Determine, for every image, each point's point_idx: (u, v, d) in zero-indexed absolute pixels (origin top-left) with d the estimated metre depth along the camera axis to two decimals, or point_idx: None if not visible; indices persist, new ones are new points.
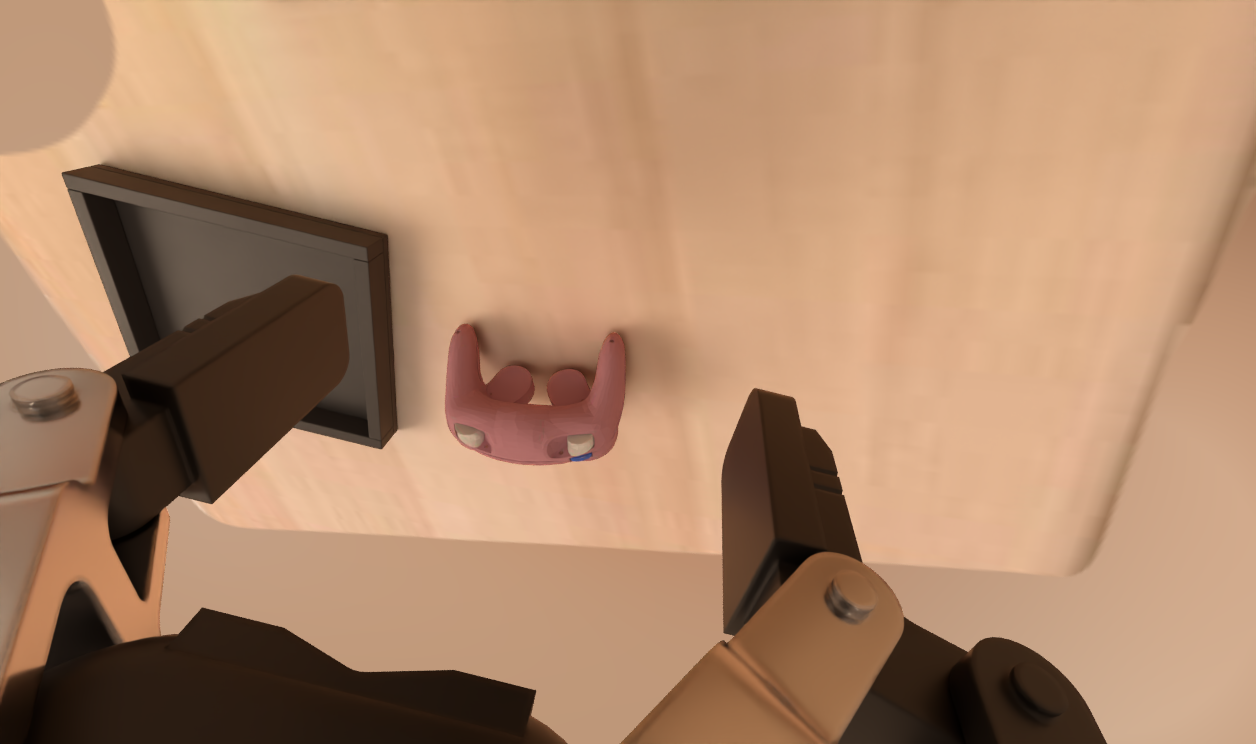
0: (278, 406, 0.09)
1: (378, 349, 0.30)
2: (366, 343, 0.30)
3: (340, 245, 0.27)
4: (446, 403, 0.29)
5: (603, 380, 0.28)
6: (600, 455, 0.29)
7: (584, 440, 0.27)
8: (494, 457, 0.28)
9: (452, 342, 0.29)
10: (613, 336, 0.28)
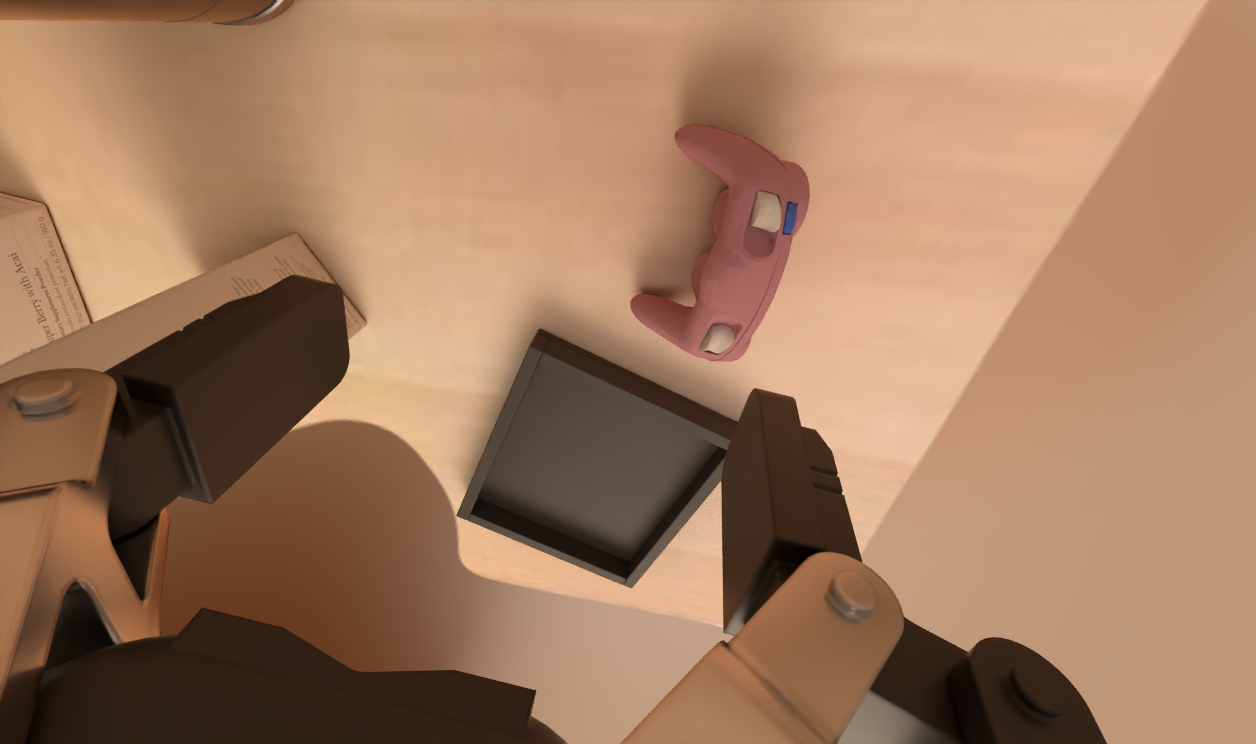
0: (279, 405, 0.09)
1: (633, 390, 0.30)
2: (621, 396, 0.30)
3: (525, 366, 0.30)
4: (682, 349, 0.26)
5: (708, 158, 0.22)
6: (804, 193, 0.21)
7: (757, 203, 0.20)
8: (752, 325, 0.23)
9: (636, 316, 0.27)
10: None
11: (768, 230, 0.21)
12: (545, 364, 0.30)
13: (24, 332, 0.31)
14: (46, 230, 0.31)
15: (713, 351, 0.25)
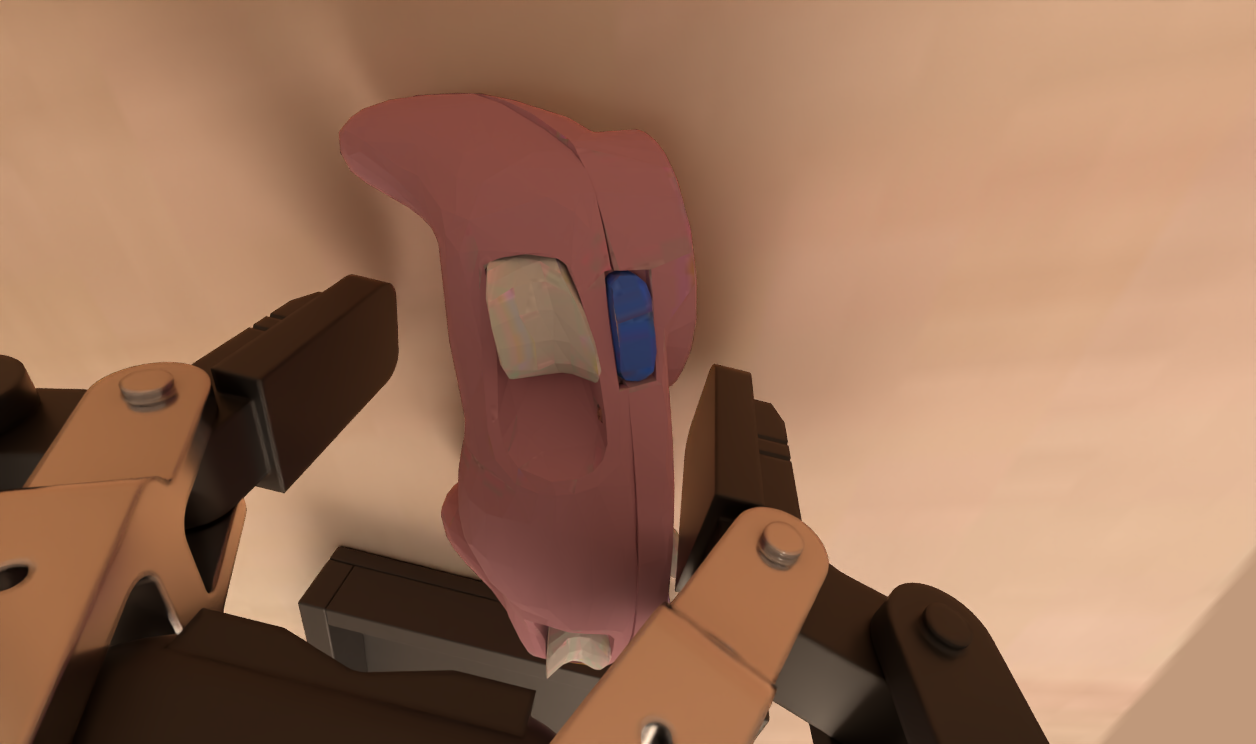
0: (340, 400, 0.09)
1: (517, 643, 0.15)
2: (495, 660, 0.15)
3: (310, 631, 0.16)
4: None
5: (383, 182, 0.07)
6: (669, 227, 0.06)
7: (490, 309, 0.05)
8: (642, 624, 0.08)
9: None
10: None
11: (581, 377, 0.06)
12: (340, 626, 0.15)
13: None
14: None
15: None
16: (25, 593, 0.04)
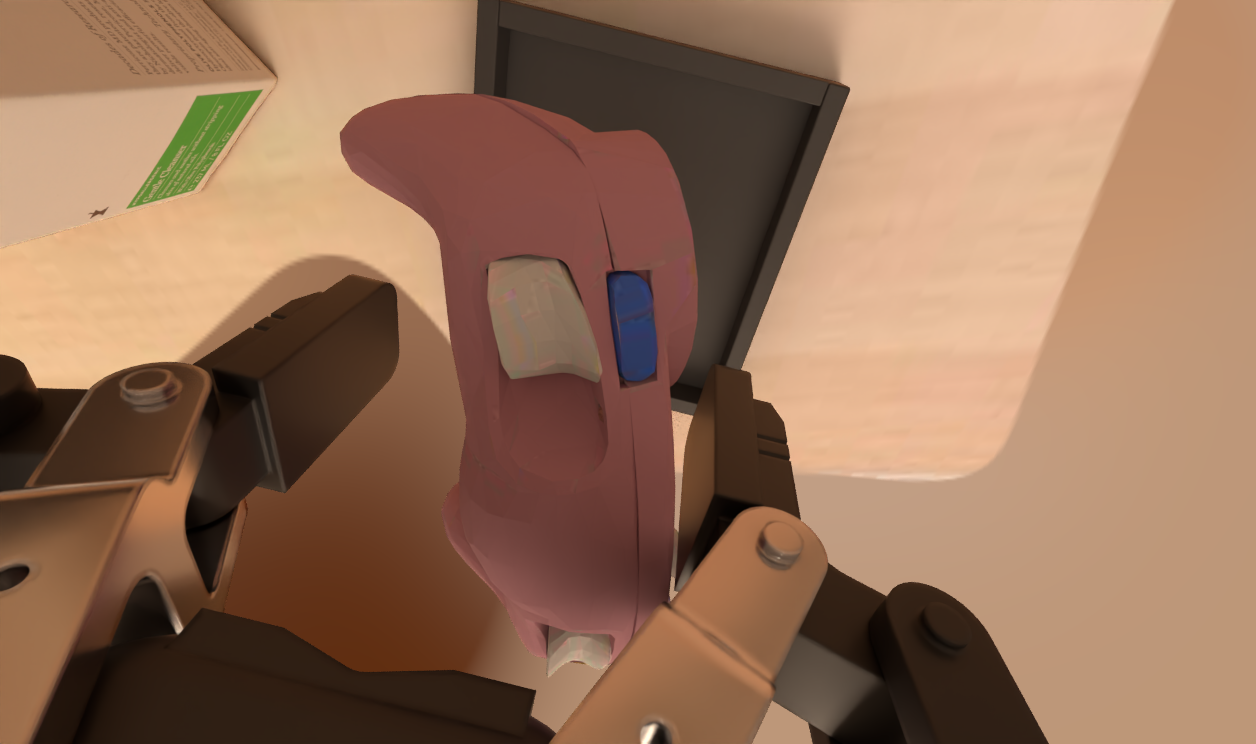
0: (340, 400, 0.09)
1: (649, 36, 0.19)
2: (632, 47, 0.19)
3: (481, 40, 0.20)
4: None
5: (385, 183, 0.07)
6: (671, 228, 0.06)
7: (492, 310, 0.05)
8: None
9: None
10: None
11: (582, 377, 0.06)
12: (508, 24, 0.19)
13: None
14: None
15: None
16: (26, 593, 0.04)
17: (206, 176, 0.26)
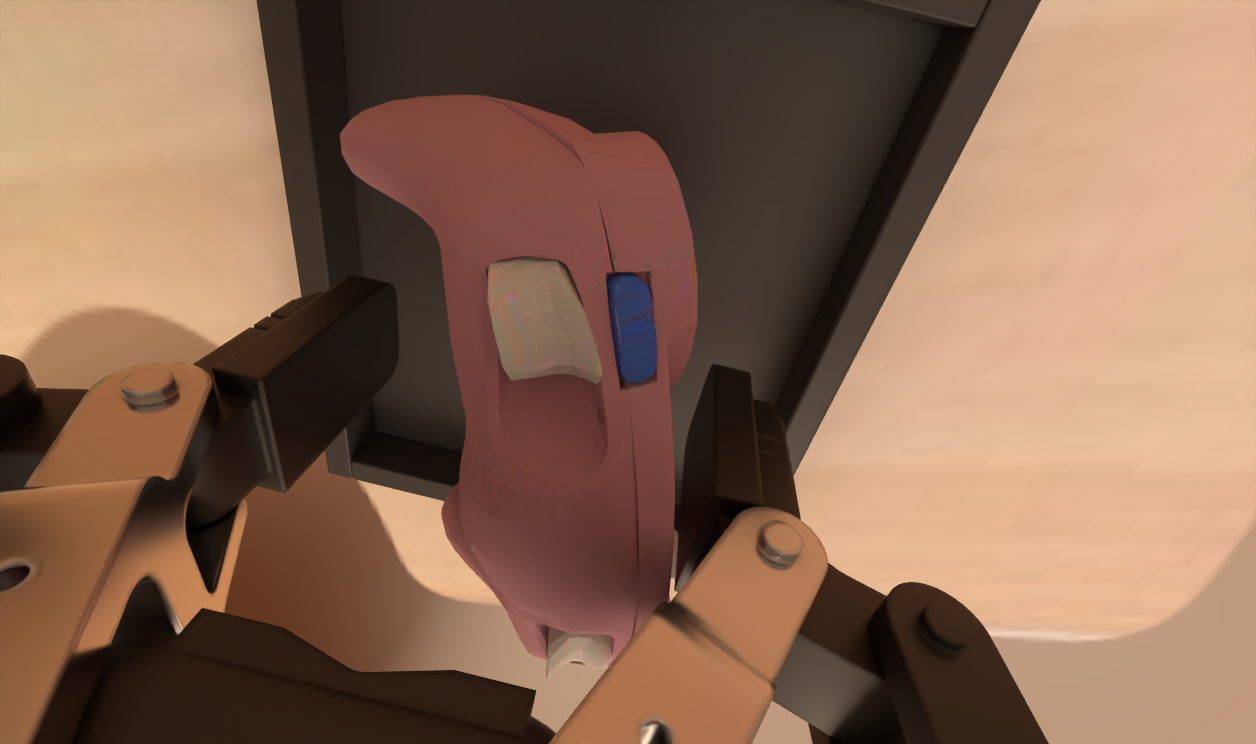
0: (341, 400, 0.09)
1: None
2: None
3: None
4: None
5: (385, 184, 0.07)
6: (670, 229, 0.06)
7: (492, 310, 0.05)
8: None
9: None
10: None
11: (582, 378, 0.06)
12: None
13: None
14: None
15: None
16: (26, 593, 0.04)
17: None
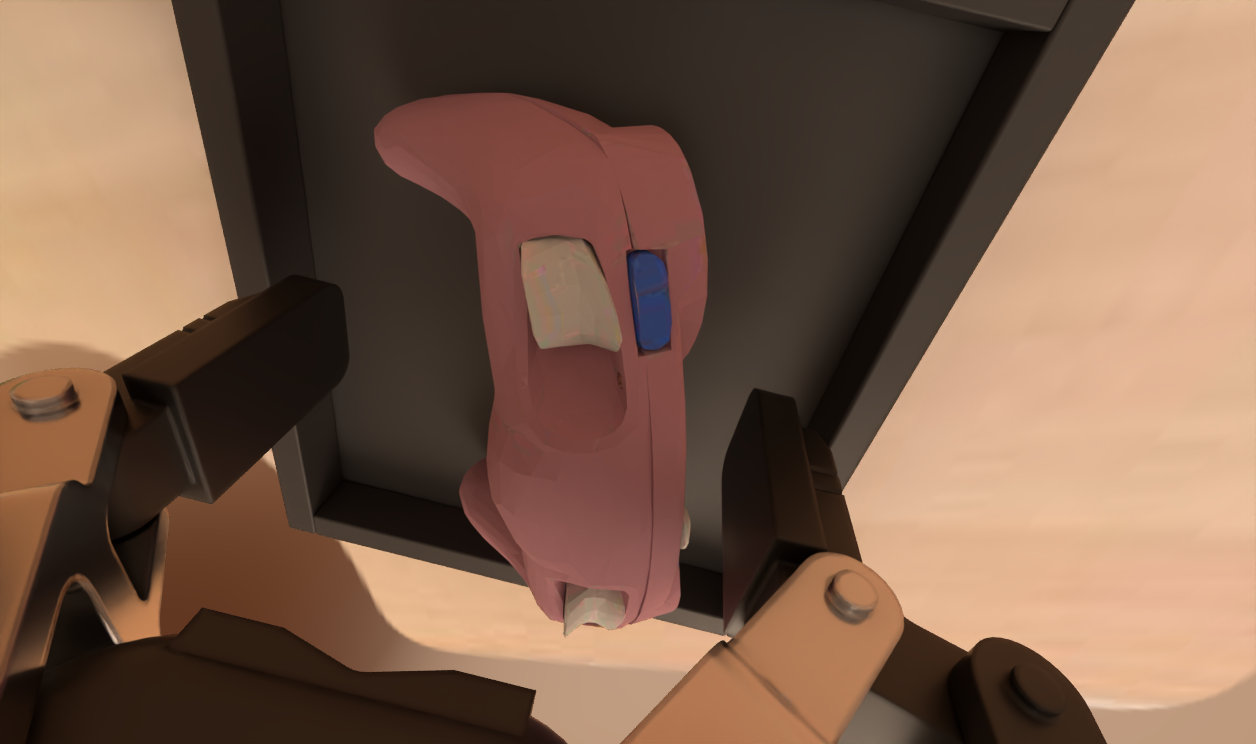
0: (278, 406, 0.09)
1: None
2: None
3: None
4: None
5: (420, 174, 0.08)
6: (684, 212, 0.06)
7: (525, 284, 0.06)
8: (654, 582, 0.08)
9: None
10: None
11: (603, 347, 0.07)
12: None
13: None
14: None
15: None
16: None
17: None
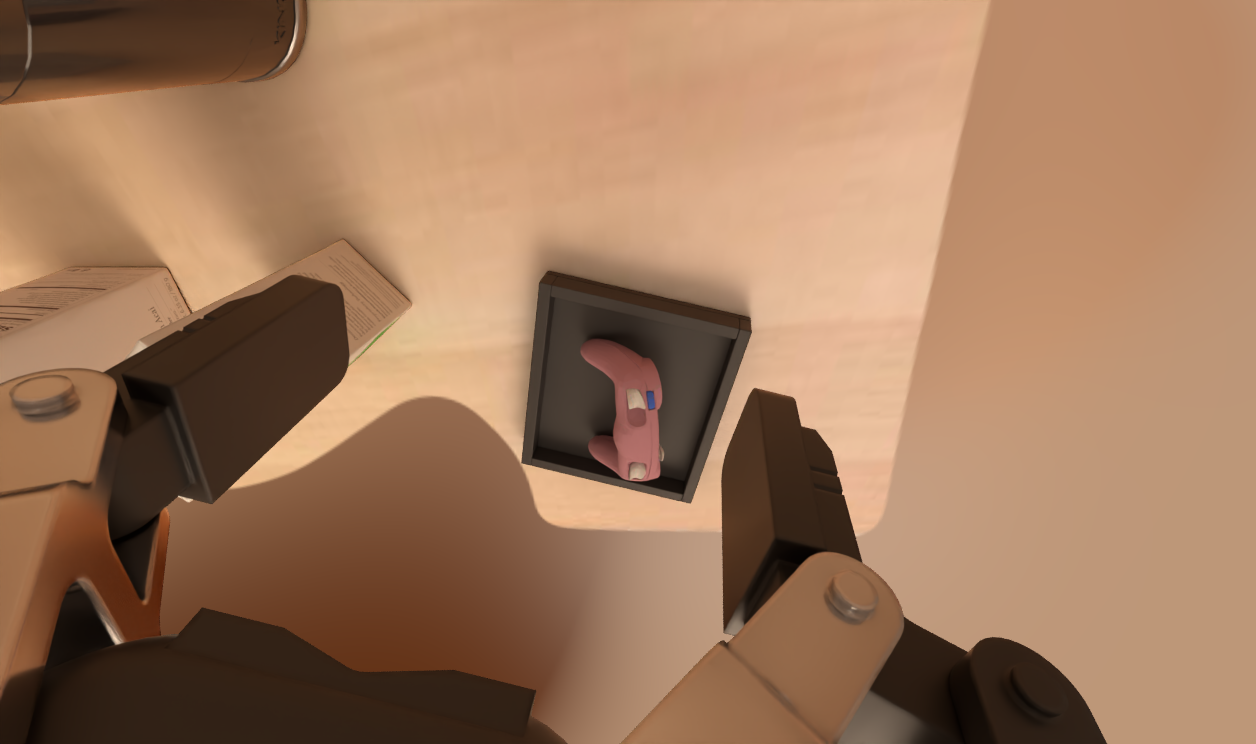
0: (279, 406, 0.09)
1: (637, 302, 0.34)
2: (627, 309, 0.34)
3: (540, 302, 0.34)
4: (621, 476, 0.38)
5: (598, 367, 0.35)
6: (657, 383, 0.33)
7: (627, 397, 0.33)
8: (653, 461, 0.35)
9: (592, 455, 0.40)
10: None
11: (641, 408, 0.34)
12: (556, 296, 0.34)
13: None
14: (171, 288, 0.40)
15: (638, 478, 0.37)
16: None
17: (361, 354, 0.41)
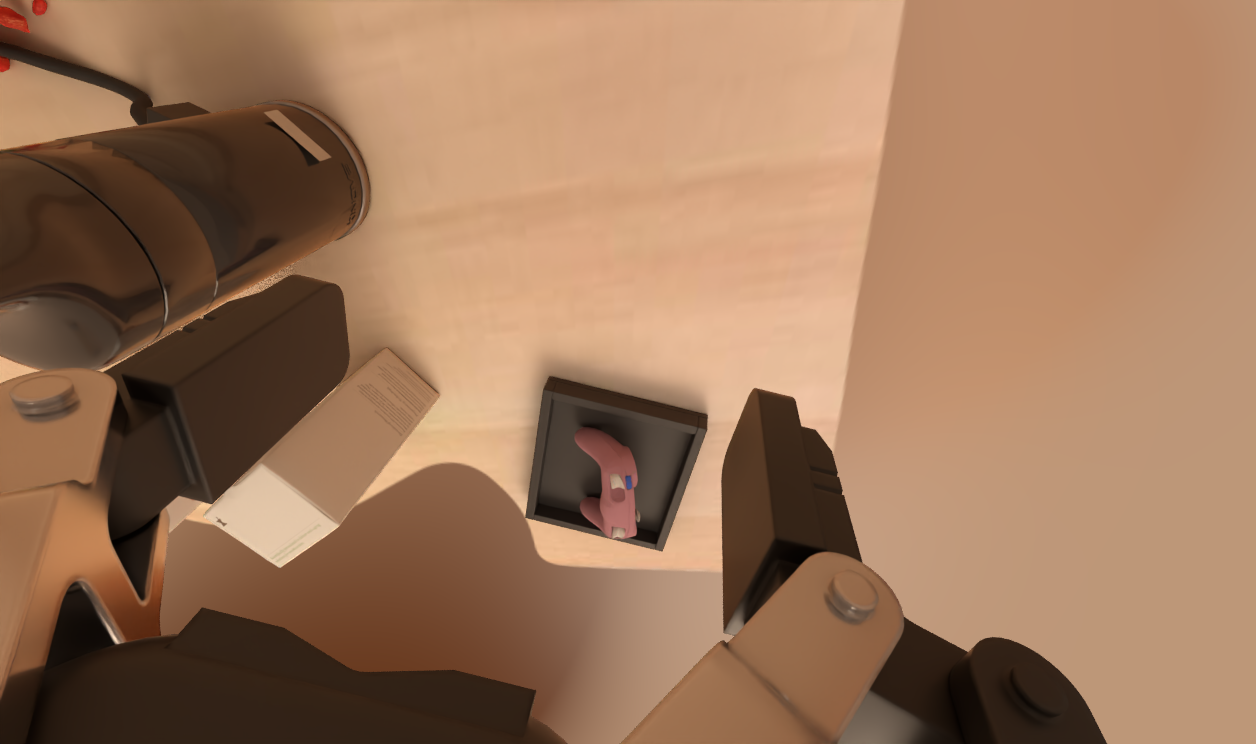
0: (279, 405, 0.09)
1: (619, 405, 0.44)
2: (611, 410, 0.44)
3: (543, 403, 0.44)
4: None
5: (588, 453, 0.44)
6: (633, 469, 0.43)
7: (610, 481, 0.43)
8: (630, 526, 0.45)
9: (583, 514, 0.50)
10: (575, 435, 0.46)
11: (621, 487, 0.43)
12: (556, 399, 0.44)
13: None
14: None
15: (619, 537, 0.47)
16: None
17: None
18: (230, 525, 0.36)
